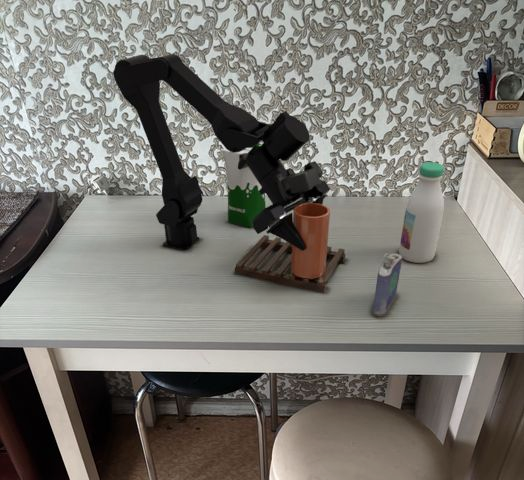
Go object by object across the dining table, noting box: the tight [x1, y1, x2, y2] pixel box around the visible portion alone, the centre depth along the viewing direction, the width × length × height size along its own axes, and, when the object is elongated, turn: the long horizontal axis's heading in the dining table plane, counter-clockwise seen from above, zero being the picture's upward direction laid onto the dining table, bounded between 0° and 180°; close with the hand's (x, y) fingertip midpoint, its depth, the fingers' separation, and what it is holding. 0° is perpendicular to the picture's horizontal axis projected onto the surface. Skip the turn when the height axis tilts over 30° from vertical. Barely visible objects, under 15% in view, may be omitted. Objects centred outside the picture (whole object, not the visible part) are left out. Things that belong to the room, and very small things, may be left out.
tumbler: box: [290, 203, 331, 279], centre depth 106 cm, size 7×7×13 cm
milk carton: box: [221, 143, 267, 229], centre depth 129 cm, size 9×9×20 cm
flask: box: [372, 252, 403, 318], centre depth 100 cm, size 9×3×11 cm, turn 151°
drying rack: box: [234, 234, 347, 294], centre depth 115 cm, size 20×15×2 cm
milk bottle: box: [398, 161, 445, 264], centre depth 112 cm, size 8×8×20 cm
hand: (315, 242), depth 105 cm, fingers closed on tumbler, 7 cm apart
